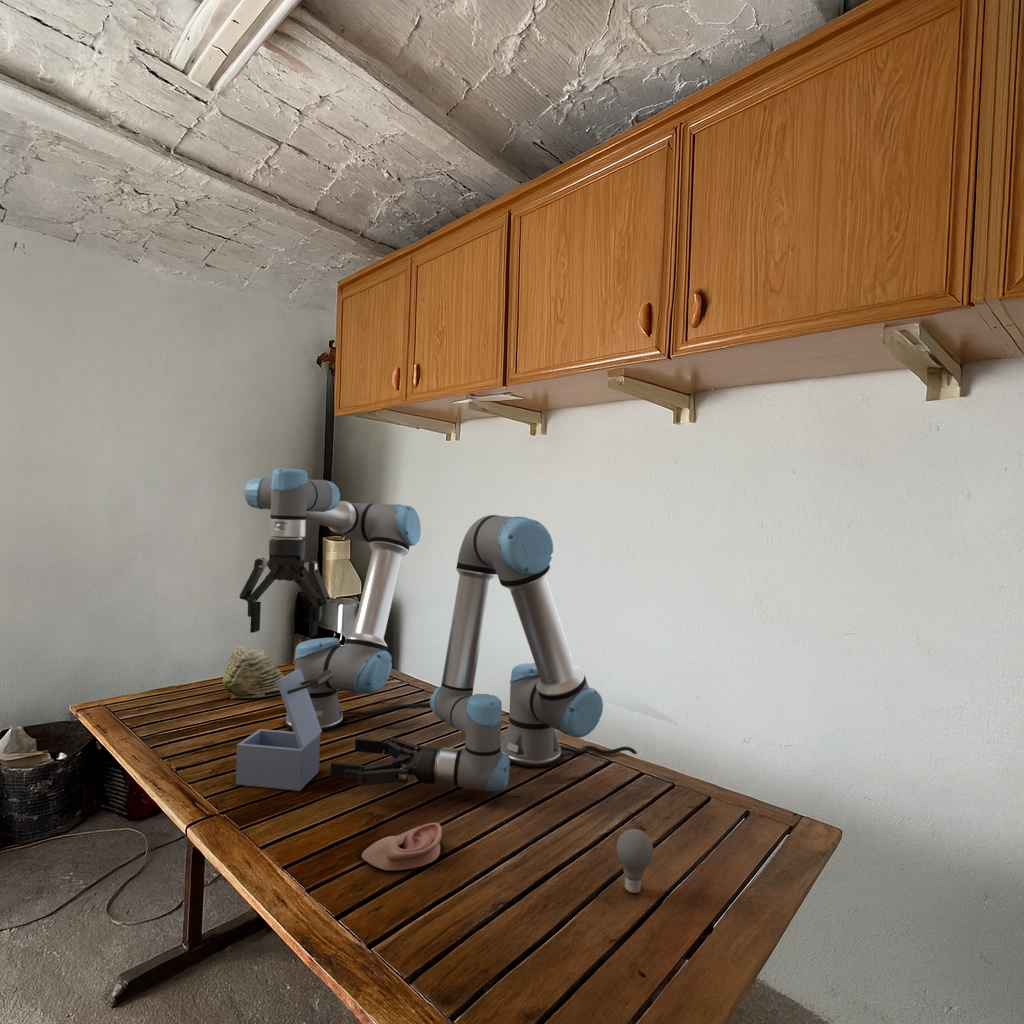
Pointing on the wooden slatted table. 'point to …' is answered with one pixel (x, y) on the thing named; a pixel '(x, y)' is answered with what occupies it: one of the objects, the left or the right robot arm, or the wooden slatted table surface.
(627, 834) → the light bulb
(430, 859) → the anatomical model
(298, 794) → the wooden slatted table surface
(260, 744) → the chest
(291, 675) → the lid
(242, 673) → the fossil
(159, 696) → the wooden slatted table surface
